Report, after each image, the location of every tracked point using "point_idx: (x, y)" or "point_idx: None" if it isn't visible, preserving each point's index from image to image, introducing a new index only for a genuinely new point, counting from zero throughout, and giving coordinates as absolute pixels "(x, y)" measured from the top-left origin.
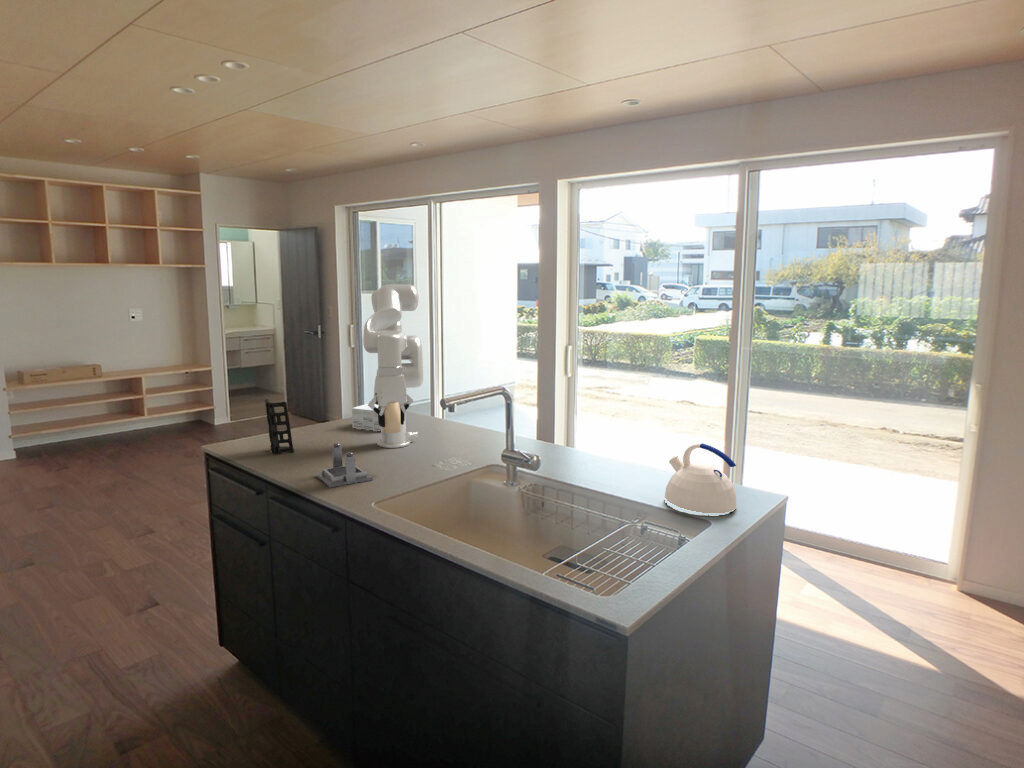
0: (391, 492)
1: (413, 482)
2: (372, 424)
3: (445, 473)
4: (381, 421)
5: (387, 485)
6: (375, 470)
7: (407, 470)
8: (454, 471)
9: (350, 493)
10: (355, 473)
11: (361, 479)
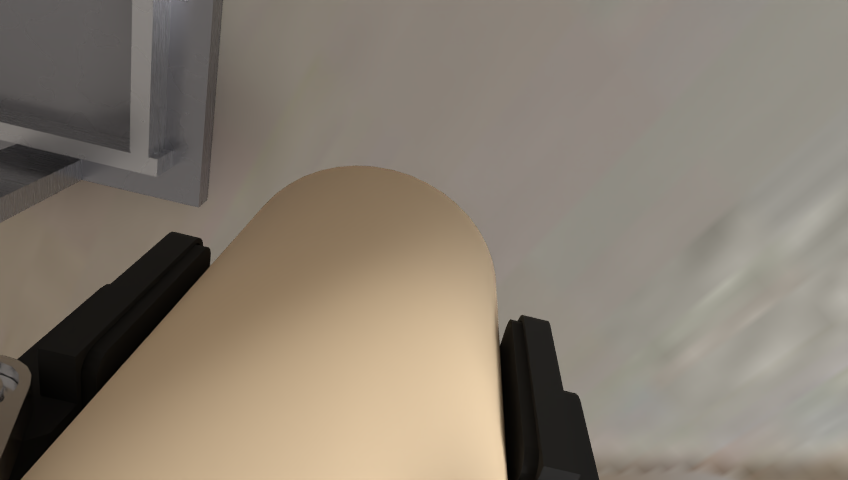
0: None
1: None
2: None
3: (622, 402)
4: None
5: None
6: (331, 16)
7: (504, 194)
8: (688, 412)
9: (10, 296)
10: (49, 195)
11: (121, 187)
